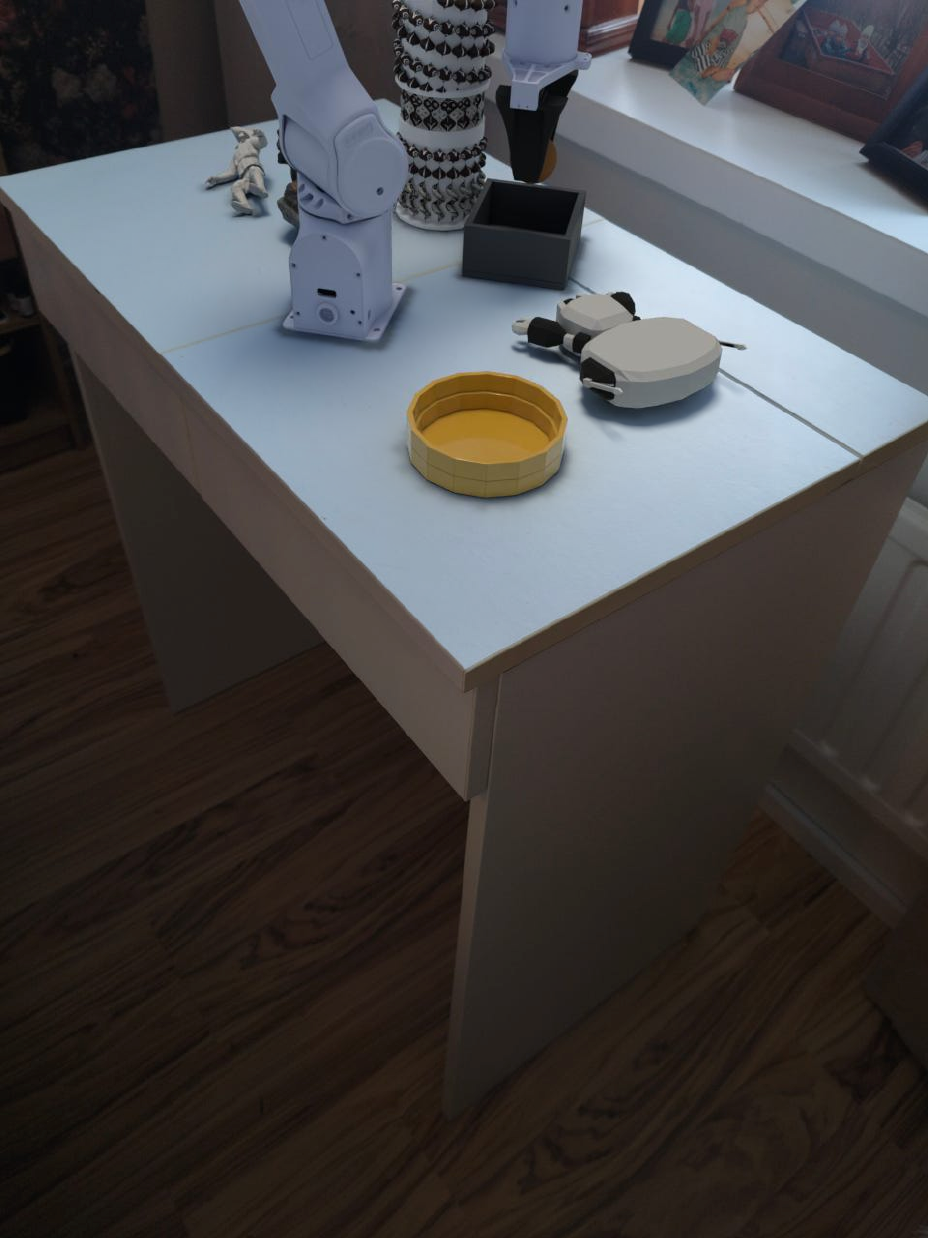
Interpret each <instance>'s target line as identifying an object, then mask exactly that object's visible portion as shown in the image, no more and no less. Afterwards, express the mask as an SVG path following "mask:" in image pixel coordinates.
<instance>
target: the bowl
mask: <svg viewBox="0 0 928 1238" xmlns="http://www.w3.org/2000/svg"><path fill="white" fill-rule="evenodd" d="M568 422H569V418H568V416H567V414H566V411H565V409H564V407H563V404H562V401H560V399H558V398H557V397H556V396H555V395H554V394H552V392H550V391H549V390H548V389H547V388H545V386H542V385H541V384H538V383H536V382H534V381H531V380H529V379H526V378H524V377H521V376H518V375H515V374H509V373H503V372H496V371H488V370H482V371H468V372H466V371H465V372H457V373H453V374H450V375H447V376H445V377H442V378H441V377H440V378H438V379H435V380H432V381H431V382H429V383H428V384H426V385H425V386H424V387H422V388H421V389H420V390H418V391H417V392H415V394H413V397H412V399H411V401H410V403H409V405H408V408H407V410H406V448H407V452H408V456H409V460H410V461H409V462H410V464H411V465H412V466H413V467H414V468H415V470H417V471H418V472H419V474H421V476H422V477H424V479H425V480H427V481H428V482H430V483H433V484H435V485H436V486H439V487H441V488H443V489H445V490H447V491H449V492H452V493H455V494H459V495H460V494H461V495H466V496H472V497H478V498H483V499H484V498H486V499H487V498H498V497H500V498H501V497H511V496H518V495H521V494H523V493H527V492H528V491H531V490H533V489H537V488H538V487H542V485H544V484H546V483H547V482H548V481H549V480H550V479H551V478H552V477H553V476H554V475H555V474H556V473H557V472H558V471H559V469H560V468H561V467H560V466H561V464H562V463H561V462H562V458H563V455H564V451H565V450H564V449H565V442H566V434H567V429H568Z"/></svg>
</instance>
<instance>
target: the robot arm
mask: <svg viewBox="0 0 928 1238" xmlns="http://www.w3.org/2000/svg"><path fill="white" fill-rule="evenodd" d="M238 1H239V4H240V7H241V8H242V12H243V13H244V16H245V17H246V20H247V22H248V24H249V27H250V28H251V31H252V33H253V35H254V38H255V40H256V43H257V44H258V47H259V49H260V51H261V54H262V56H263V58H264V61H265V63H266V65H267V68H268V69H269V71H270V74H271V76H272V78H273V81H274V83H275V87H274V89H273V91H272V93H271V95H270V100H271V102H272V104H273V107H274V109H275V111H276V114H277V119H278V125H279V126H278V129H279V137H278V138H279V141H280V147H281V150H282V153H283V155H284V157H285V159H286V161H287V162H288V164H289V165H290V166H291V167H292V168H293V169H295V170H296V171H298V172H297V181H298V187H297V197H298V210H299V222H300V228H299V230H298V234H297V236H296V239H295V240H294V242H293V244H292V246H291V249H290V251H289V255H288V271H289V282H290V284H289V285H290V294H291V295H290V296H291V305H292V309H291V311H290V312H289V314H288V315H287V317H286V318H285V320H284V321H283V322H282V327H283V329H286V330H291V331H296V332H297V331H298V332H305V333H310V334H311V333H312V334H316V335H323V336H330V337H336V338H337V337H338V338H343V339H349V340H350V339H351V340H357V341H362V342H370V343H377V342H379V341H380V340H381V337H382V336H383V334H384V333H385V330H386V329H387V327H388V325H389V323H390V321H391V319H392V317H393V315H394V313H395V311H396V310H397V308H398V306H399V304H400V302H401V300H402V298H403V296H404V294H405V293H406V292H407V285H406V284H405V283H403V282H395V281H393V232H392V231H393V228H392V227H393V226H392V225H393V223H392V222H393V221H392V214H393V212H394V204H395V203H396V202H397V201H398V200H397V199H398V198H399V196H400V195H401V193H402V191H403V189H404V187H405V184H406V181H407V177H408V169H409V164H408V156H407V152H406V149H405V147H404V145H403V143H402V142H401V140H400V139H399V138H398V137H397V136H396V134H395V133H394V132H392V130H390V129H389V128H388V127H387V126H386V125H385V123H384V122H383V120H382V118H381V114H380V112H379V109H378V106H377V104H376V103H375V101H374V100H373V98H372V97H371V96H370V94H369V93H368V91H367V90H366V89H365V87H364V86H363V84H362V83H361V82H360V81H359V79H358V78H357V76H356V75H355V73H354V72H353V70H352V69H351V68H350V66H349V63H348V61H347V60H348V59H347V57H346V55H345V52H344V50H343V47H342V45H341V42H340V39H339V36H338V33H337V31H336V29H335V25H334V24H333V21H332V18H331V15H330V13H329V10H328V7H327V5H326V2H325V0H238ZM583 2H584V0H507V3H506V6H507V7H506V20H505V35H504V36H505V39H504V46H503V47H502V49H501V63H502V65H503V67H504V69H505V71H506V73H507V75H508V77H509V79H510V81H511V85H506V84H498V87H497V89H496V90H495V95H494V96H495V97H494V98H495V99H494V100H495V104H496V105H495V106H496V107H497V110H498V111H499V114H500V116H501V119H502V121H503V125H504V129H505V131H506V136H507V142H508V151H509V160H510V159H511V166H510V168H511V167H512V169H511V171H512V177H513V181H515V182H522V183H525V182H531V183H537V184H539V183H538V181H539V178H540V176H541V173H542V170H543V167H544V163H545V159H546V154H547V150H548V146H549V142H550V140H551V141H552V142H553V143H554V140H555V136H556V131H557V127H558V124H559V121H560V116H561V114H562V112H563V111H564V110H565V108H566V106H567V104H568V101H569V97H568V96H569V93H570V92H571V90H572V88H573V86H574V85H575V83H576V82H577V79H578V77H579V71H588V70H589V69H590V68H591V65H592V59H593V56H592V54H591V53H589V52H583V51H579V50H578V47H579V39H580V30H581V29H580V28H581V20H582V11H583ZM289 165H288V166H289Z"/></svg>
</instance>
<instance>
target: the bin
mask: <svg viewBox="0 0 928 1238" xmlns="http://www.w3.org/2000/svg"><path fill="white" fill-rule="evenodd" d="M586 197H587V191H586V190H582V189H575V188H566V187H561V186H554V185H553V186H552V185H546V184H545V185H544V184H538V183H537V184H528V183H525V182H523V181H515V180H506V179H498V178H491V177H487V178H486V179H485V184H484V186H483V187H482V190H481V192H480V194H479V196H478V198H477V200H476V202H475V204H474V206H473V208H472V210H471V212H470V214H469V216H468V218H467V220H466V222H465V224H464V228H463V237H462V239H463V240H462V259H461V260H462V262H461V276H462V277H468V278H475V279H476V278H477V279H482V280H490V281H497V282H505V283H511V284H518V285H526V286H532V287H539V288H546V289H552V290H561V291H565V290H566V287H567V284H568V281H569V277H570V274H571V271H572V268H573V264H574V261H575V257H576V254H577V251H578V249H579V248H578V247H579V244H580V241H581V236H582V228H583V221H584V211H585V203H586Z"/></svg>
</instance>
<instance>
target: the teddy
mask: <svg viewBox="0 0 928 1238" xmlns="http://www.w3.org/2000/svg"><path fill="white" fill-rule="evenodd" d="M557 161H558V154H557V148H556V146H555V143H554V141H553V142H552V141H551V140H550V142H549V146H548V150H547V154H546V159H545V163H544V167H543V170H542V173H541V176H540V178H539V181H538V183H531V182H524V183H528V184H537V185H538V184H540V183H543V182H545V181H546V180H547V179H548V178H549V177H551V175H552V174H553V173H554V171H555V169H556V167H557ZM509 166H510V168H511V170H512V167H511V159H510V158H509Z"/></svg>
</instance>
